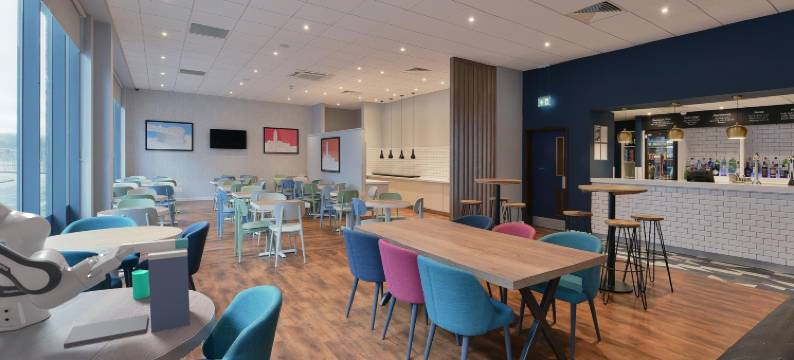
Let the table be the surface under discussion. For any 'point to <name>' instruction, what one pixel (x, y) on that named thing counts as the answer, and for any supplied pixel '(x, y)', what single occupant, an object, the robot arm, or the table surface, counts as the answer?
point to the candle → (140, 284)
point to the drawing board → (106, 330)
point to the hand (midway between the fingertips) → (134, 246)
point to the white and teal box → (156, 245)
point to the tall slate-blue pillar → (168, 289)
